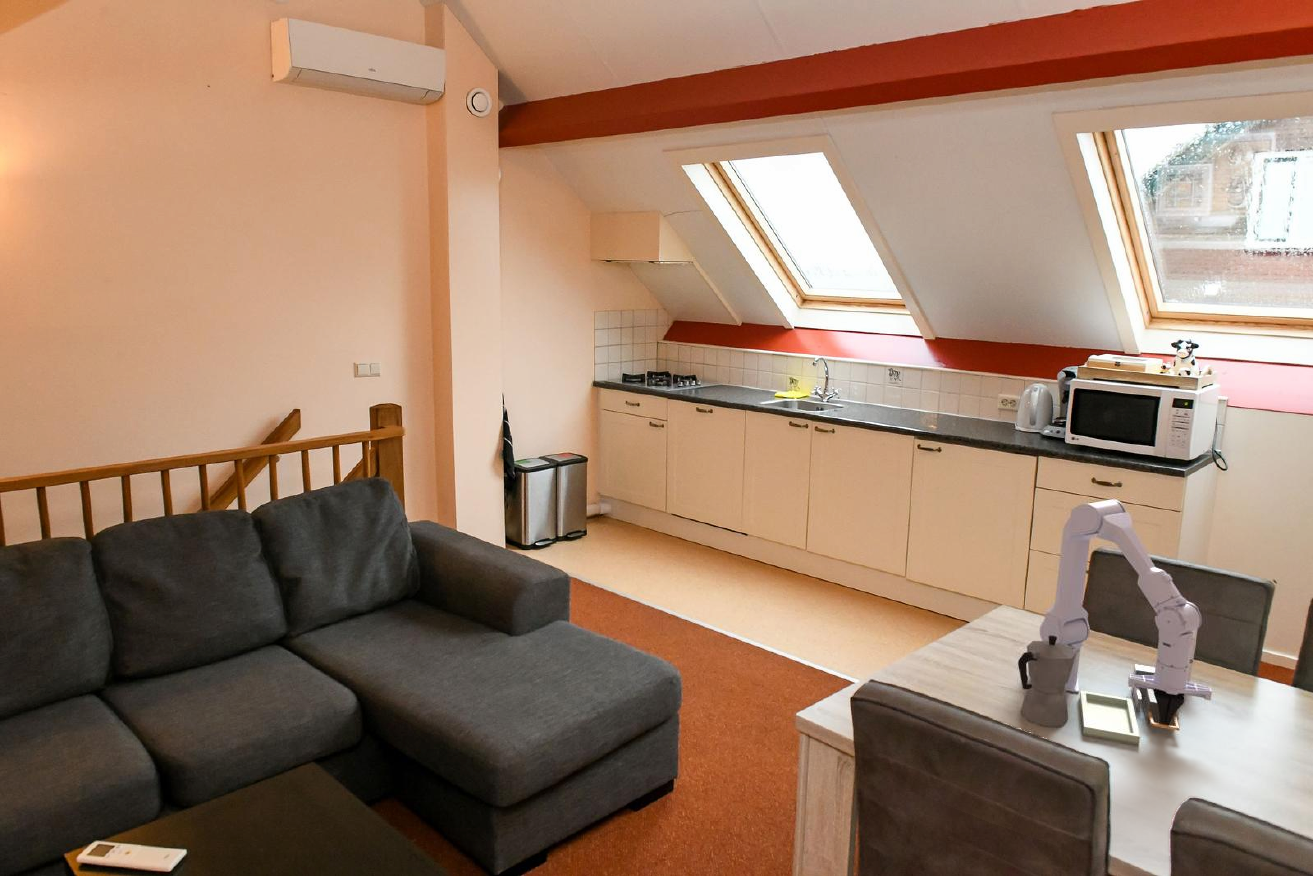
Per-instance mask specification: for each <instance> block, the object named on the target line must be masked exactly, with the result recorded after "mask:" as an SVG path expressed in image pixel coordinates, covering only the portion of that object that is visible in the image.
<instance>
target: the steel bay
mask: <svg viewBox="0 0 1313 876" xmlns="http://www.w3.org/2000/svg"><path fill="white" fill-rule="evenodd" d="M1154 673H1155V667H1154V666H1149V665H1140V664H1136V663H1135V664H1134V666H1133V673H1132V675H1147V676H1154ZM1130 688H1131V693H1132V696H1133V700H1134V705H1135V709H1136V712H1138V713H1140V712H1141V707H1142V700H1143V699H1142V697H1143V698H1145V694H1146V688H1141V687H1134V688H1133V687H1130ZM1180 711H1181V707H1180V708H1179V709H1178V710H1177V714H1176V718H1177V720H1178V719H1179V718H1180Z"/></svg>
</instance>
